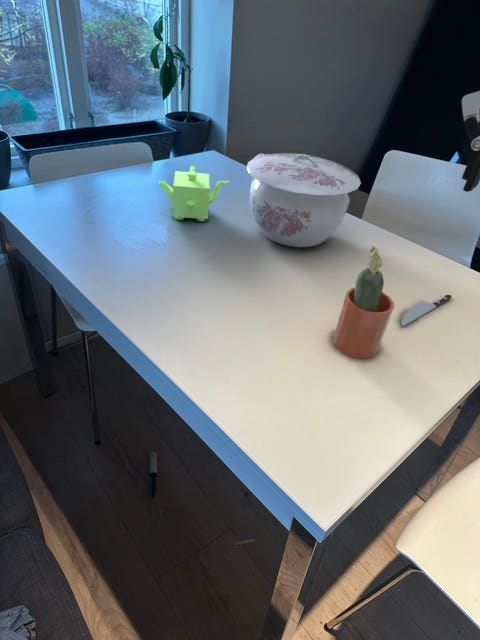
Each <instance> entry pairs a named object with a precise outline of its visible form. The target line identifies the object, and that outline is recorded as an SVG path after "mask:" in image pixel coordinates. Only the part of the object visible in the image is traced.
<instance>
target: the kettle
mask: <svg viewBox="0 0 480 640" xmlns="http://www.w3.org/2000/svg"><path fill="white" fill-rule="evenodd" d="M173 177H174V178H173V183H172V186H170V184H168V182H166V180H161V181H160V180H159V182H158V184H159V186H160V187H161V189H162V191H164V193H165V194H166V195H167V197H168V198H169V199H170V201H171V203H172V217H173V218H175V220H179V221H182V220H184V219H185V218H186V219H196V221H197V222H205V221H206V220H208V219H209V205H210V204H212V203H214V201H215V200H216V199H217V197H218V196H219V193H220V190H221V188H222V187H223V185H225V184H228V183H229V182H230V181H229V180H219V181H217V183H216V184H215V186H214V188H213V190H211V191H210V189H211V188H210V184H211V183H210V182H211V181H210V173H204V172H203V173H202V172H196V166H195V165H194V164H191V166H190V167H189V171H179V170H176V171H174V176H173Z"/></svg>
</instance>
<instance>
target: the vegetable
mask: <svg viewBox="0 0 480 640" xmlns="http://www.w3.org/2000/svg"><path fill="white" fill-rule="evenodd" d="M368 253H369V254H371V253H372V254H371V255H370V257H369V261H368V263H367V267H365V268H363V269H362V270H361V271H360V273H358V275H357V277H356V279H355V286H354V287H355V305H356V306H357V307H359V308H361V309H364V310H367V311H371V312H376V310H377V306H378V303H379V300H380V297H381V293H382V292H383V290H384V286H385V285H384V284H385V280H384V275H383V273H382V272H381V270H380V269H381V268H382V266H383V259H382V257H381V254H380V253H379V249H378V248H377V247H376V246H374V245H372V246H371V247H370V250H369V251H368Z"/></svg>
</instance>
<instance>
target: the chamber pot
mask: <svg viewBox="0 0 480 640" xmlns="http://www.w3.org/2000/svg"><path fill="white" fill-rule="evenodd" d="M246 170H247V171H248V173H249V175H250V179H251V184H250V190H249V207H250V208H249V209H250V214H251V216H252V218H253V220H254V222H255V224H256V227H257V228H258V230H259V232H260V233H261V234H262V235H263V236H264V237H265V238H266V239H268V240H269V241H271V242H274V243H276V244H279V245H283V246H287V247H292V248H293V247H294V248H310V247H315V246H318V245H320V244H322V243H324V242H326V241H327V240H328V239H329V238H330V237H331V236H332V235H333V234H334V233H336V231H337V230H338V229H339V228H340V227H341V224H342V222H343V220H344V218H345V216H346V214H347V212H348V209H349V205H350V202H351V200H350V196H349V194H351V192H353V191H356V190H358V189H359V187H360V186H361V184H362V182H361V179H360V177H359V175H358V174H356V172H354V171H353V170H352V169H351V168H349V167H346V166H344V165H343V164H340V163H338V162H336V161H333V160H330V159H327V158H324V157H319V156H315V155H311V154H305V153H295V152H278V153H267V154H265V153H263V152H262V153H259V154H256V155H255V157H253V158H252V159H251V160H249V161H247V165H246Z"/></svg>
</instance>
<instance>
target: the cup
mask: <svg viewBox="0 0 480 640" xmlns="http://www.w3.org/2000/svg"><path fill="white" fill-rule="evenodd" d="M394 309H395V302H394V301H393V299H392V298H391V296H390V295H388V294H387V293H385V292H384V291H382V293H381V297H380V300H379V303H378V306H377V310H376V312H371V311H367V310H364V309H361V308H359V307H357V306H356V305H355V286H354V287H351V288H350V289H348V290H347V291H346V293H345V296H344V299H343V303H342V306H341V310H340V313H339V317H338V320H337V324H336V327H335V330H334V335H333V339H332V341H333V344H334V346H335V347H336V348H337V350H339V351H340V352H341V353H342V354H344V355H346V356H348V357H352V358H355V359H369V358H372V357H373V356H375V355H376V354H377V353H378V350H379V348H380V346H381V343H382V341H383V338H384V335H385V332H386V330H387V327H388V325H389V322H390V319H391V317H392V314H393V312H394Z"/></svg>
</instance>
